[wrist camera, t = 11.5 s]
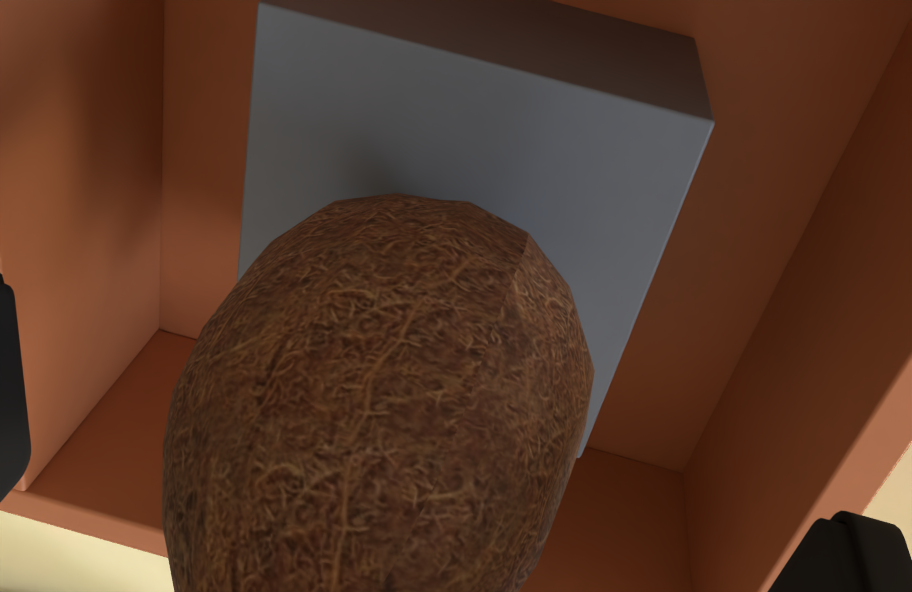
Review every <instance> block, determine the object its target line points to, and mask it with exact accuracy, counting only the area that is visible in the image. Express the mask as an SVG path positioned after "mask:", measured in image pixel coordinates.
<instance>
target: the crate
mask: <svg viewBox="0 0 912 592" xmlns="http://www.w3.org/2000/svg"><path fill="white" fill-rule="evenodd" d="M259 1H260V0H0V273H1V274H2V276H3V279H4V283H5V284H7V285H10V286H11V288H12V289H13V291H14V295H15V302H16V311H17V321H18V330H19V339H20V348H21V357H22V366H23V375H24V385H25V394H26V403H27V412H28V421H29V430H30V439H31V457H30V461H29V464H28V467H27V469H26V471H25V473H24V475H23V476H22V477H21V479H20V480H19V482H18V483H17V484H16V485H15V486H14V487H13V489H12V490H11V491H10V492H9V493H8V494H7V496H6V497H5V498H4V499H3V500H2V501H1V502H0V510H1V511H4V512H8V513H11V514H15V515H18V516H22V517H25V518H29V519H33V520H36V521H40V522H43V523H47V524H50V525H54V526H57V527H61V528H64V529H68V530H71V531H75V532H78V533H82V534H85V535H89V536H93V537H96V538H100V539H103V540H107V541H110V542H114V543H117V544H121V545H124V546H128V547H131V548H135V549H138V550H142V551H146V552H149V553H153V554H156V555H160V556H163V557H167V558H168V554H167V548H166V543H165V538H164V532H163V527H162V468H163V440H164V435H165V430H166V424H167V419H168V413H169V408H170V402H171V397H172V392H173V389H174V387H175V385H176V383H177V381H178V379H179V377H180V375H181V373H182V370H183V368H184V366H185V364H186V362H187V360H188V358H189V356H190V354H191V351H192V349H193V347H194V345H195V343H196V341H197V339H198V337H199V335H200V333H201V330H202V328H203V327H204V326H205V324H206V323H207V322H208V320H209V319H210V318H211V316H212V315H213V314H214V312H215V311H216V310H217V309H218V307H219V306H220V305H221V303H222V302H223V301H224V299H225V298H226V297H227V296H228V294H229V293H230V292H231V290H232V289H233V288H234V286H235V285H236V282H237V269H238V256H239V242H240V229H241V215H242V202H243V189H244V175H245V162H246V149H247V135H248V122H249V108H250V95H251V82H252V68H253V55H254V41H255V28H256V15H257V4H258V2H259ZM550 1H554V2H557V3H561V4H565V5H569V6H573V7H577V8H580V9H584V10H588V11H592V12H596V13H600V14H604V15H607V16H611V17H615V18H619V19H623V20H627V21H630V22H634V23H638V24H642V25H646V26H650V27H654V28H657V29H661V30H665V31H669V32H673V33H677V34H680V35H684V36H688V37H692V38H694V39H695V42H696V46H697V50H698V54H699V59H700V63H701V67H702V71H703V75H704V79H705V83H706V88H707V92H708V96H709V100H710V104H711V108H712V112H713V117H714V121H715V125H714V128H713V130H712V133H711V135H710V138H709V140H708V143H707V145H706V148H705V150H704V153H703V155H702V157H701V160H700V162H699V165H698V167H697V170H696V172H695V175H694V177H693V180H692V182H691V185H690V187H689V190H688V192H687V195H686V197H685V200H684V202H683V205H682V207H681V210H680V212H679V215H678V217H677V220H676V222H675V225H674V227H673V230H672V232H671V234H670V237H669V239H668V242H667V244H666V247H665V249H664V252H663V254H662V257H661V259H660V262H659V264H658V267H657V269H656V272H655V274H654V277H653V279H652V282H651V284H650V287H649V289H648V292H647V294H646V297H645V299H644V302H643V304H642V307H641V309H640V311H639V314H638V316H637V319H636V321H635V324H634V326H633V329H632V331H631V334H630V336H629V339H628V341H627V344H626V346H625V349H624V351H623V354H622V356H621V359H620V361H619V364H618V366H617V369H616V371H615V374H614V376H613V379H612V381H611V384H610V386H609V388H608V391H607V393H606V396H605V398H604V401H603V403H602V406H601V408H600V411H599V413H598V416H597V418H596V421H595V423H594V426H593V428H592V431H591V433H590V436H589V438H588V441H587V443H586V446H585V448H584V451H583V453H582V456H581V457H580V458H576V460H575V463H574V466H573V469H572V472H571V474H570V477H569V480H568V483H567V486H566V488H565V491H564V494H563V497H562V500H561V502H560V505H559V508H558V511H557V513H556V516H555V519H554V521H553V524H552V527H551V529H550V532H549V535H548V537H547V540H546V543H545V545H544V548H543V551H542V553H541V556H540V559H539V561H538V564H537V566H536V567H535V569H534V570H533V571H532V573H531V574H530V576H529V577H528V578H527V580H526V581H525V582H524V584H523V585H522V587H521V588H520V589H519V591H518V592H768V590H769V589H770V587H771V586H772V584H773V583H774V581H775V580H776V578H777V577H778V575H779V574H780V572H781V571H782V569H783V568H784V566H785V565H786V563H787V562H788V560H789V559H790V557H791V556H792V554H793V553H794V551H795V550H796V548H797V547H798V545H799V544H800V542H801V541H802V539H803V538H804V536H805V535H806V533H807V532H808V530H809V529H810V527H811V526H812V524H813V523H814V522H815V521H816V520H817V519H819V518H824V519H828V520H830V519H831V518H832V516H833V515H834V514H835V513H837V512H839V511H841V510H842V511H848V512H852V513H855V514H859V515H862V514H863V512H864V511H865V509H866V508H867V506H868V505H869V504H870V502H871V501H872V499H873V498H874V496H875V495H876V494H877V492H878V491H879V489H880V488H881V486H882V485H883V483H884V482H885V481H886V479H887V478H888V476H889V475H890V473H891V472H892V471H893V469H894V468H895V466H896V465H897V463H898V462H899V461H900V459H901V458H902V456H903V455H904V453H905V452H906V450H907V449H908V448H909V446H910V445H911V443H912V0H550Z"/></svg>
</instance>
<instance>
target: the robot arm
mask: <svg viewBox="0 0 912 592" xmlns="http://www.w3.org/2000/svg"><path fill="white" fill-rule="evenodd" d="M30 457H31V439H30V430H29V421H28V412H27V403H26V394H25V385H24V375H23V366H22V357H21V348H20V339H19V330H18V321H17V311H16V302H15V295H14V291H13V289H12V288H11V286H10V285H7V284H5V283H4V279H3V276H2V274H1V273H0V502H1V501H2V500H3V499H4V498H5V497H6V496H7V494H8V493H9V492H10V491H11V490H12V489H13V487H14V486H15V485H16V484H17V483H18V482H19V480H20V479H21V477H22V476H23V475H24V473H25V471H26V469H27V467H28V464H29V461H30ZM768 592H912V560H911V557H910V554H909V551H908V548H907V544H906V541H905V538H904V536H903V534H902V532H901V530H900V529H899V528H898V527H897V526H896V525H894V524H890V523H887V522H883V521H880V520H876V519H873V518H869V517H866V516H862V515H859V514H855V513H852V512H848V511H842V510H841V511H839V512H837V513H835V514H834V515H833V516H832V518H831V519H830V520H828V519H824V518H819V519H817V520H816V521H815V522H814V523H813V524H812V526H811V527H810V529H809V530H808V532H807V533H806V535H805V536H804V538H803V539H802V541H801V542H800V544H799V545H798V547H797V548H796V550H795V551H794V553H793V554H792V556H791V557H790V559H789V560H788V562H787V563H786V565H785V566H784V568H783V569H782V571H781V572H780V574H779V575H778V577H777V578H776V580H775V581H774V583H773V584H772V586H771V587H770V589H769V590H768Z"/></svg>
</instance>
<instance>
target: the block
mask: <svg viewBox="0 0 912 592" xmlns="http://www.w3.org/2000/svg"><path fill="white" fill-rule="evenodd" d="M714 125H715V121H714V117H713V112H712V108H711V104H710V100H709V96H708V92H707V88H706V83H705V79H704V75H703V71H702V67H701V63H700V59H699V54H698V50H697V46H696V42H695V39H694V38H692V37H688V36H684V35H680V34H677V33H673V32H669V31H665V30H661V29H657V28H654V27H650V26H646V25H642V24H638V23H634V22H630V21H627V20H623V19H619V18H615V17H611V16H607V15H604V14H600V13H596V12H592V11H588V10H584V9H580V8H577V7H573V6H569V5H565V4H561V3H557V2H554V1H550V0H260V1H259V2H258V4H257V15H256V28H255V41H254V55H253V68H252V82H251V95H250V108H249V122H248V135H247V149H246V162H245V175H244V189H243V202H242V215H241V229H240V242H239V256H238V269H237V282H236V284H237V283H238V281H239V280H240V279H241V277H242V276H243V275H244V273H245V272H246V271H247V269H248V268H249V267H250V266H251V264H252V263H253V262H254V261H255V260H256V258H257V257H258V256H259V255H260V254H261V253H262V252H263V250H264V249H265V248H266V247H267V246H268V245H269V244H270V242H271V241H273V240H274V239H276V238H277V237H279V236H280V235H282V234H283V233H285V232H286V231H288V230H289V229H291V228H292V227H294V226H295V225H297V224H298V223H300V222H301V221H303V220H305V219H306V218H308V217H309V216H311V215H312V214H314V213H315V212H317V211H318V210H320V209H322V208H323V207H325V206H327V205H328V204H330V203H332V202H334V201H336V200H344V199H352V198H360V197H368V196H376V195H384V194H392V193H402V194H408V195H414V196H420V197H426V198H433V199H439V200H454V201H469V202H471V203H473V204H475V205H477V206H479V207H480V208H482V209H484V210H486V211H488V212H490V213H492V214H494V215H496V216H498V217H500V218H501V219H503V220H505V221H507V222H509V223H511V224H513V225H515V226H517V227H519V228H520V229H522V230H524V231H526V232H528V233H529V234H530V235H531V237H532V238H533V239H534V241H535V242H536V243H537V244H538V246H539V247H540V248H541V250H542V251H543V252H544V254H545V255H546V256H547V258H548V259H549V260H550V262H551V263H552V264H553V265H554V267H555V268H556V269H557V271H558V272H559V273H560V275H561V276H562V277H563V279H564V280H565V281H566V283H567V284H568V285H569V286H570V289H571V292H572V296H573V299H574V302H575V305H576V309H577V312H578V315H579V319H580V322H581V325H582V329H583V332H584V335H585V339H586V342H587V345H588V349H589V352H590V355H591V359H592V362H593V366H594V369H595V374H594V380H593V386H592V392H591V398H590V404H589V410H588V416H587V422H586V427H585V431H584V434H583V437H582V440H581V444H580V447H579V450H578V453H577V457H576V458H580V457H581V456H582V453H583V451H584V448H585V446H586V443H587V441H588V438H589V436H590V433H591V431H592V428H593V426H594V423H595V421H596V418H597V416H598V413H599V411H600V408H601V406H602V403H603V401H604V398H605V396H606V393H607V391H608V388H609V386H610V384H611V381H612V379H613V376H614V374H615V371H616V369H617V366H618V364H619V361H620V359H621V356H622V354H623V351H624V349H625V346H626V344H627V341H628V339H629V336H630V334H631V331H632V329H633V326H634V324H635V321H636V319H637V316H638V314H639V311H640V309H641V307H642V304H643V302H644V299H645V297H646V294H647V292H648V289H649V287H650V284H651V282H652V279H653V277H654V274H655V272H656V269H657V267H658V264H659V262H660V259H661V257H662V254H663V252H664V249H665V247H666V244H667V242H668V239H669V237H670V234H671V232H672V230H673V227H674V225H675V222H676V220H677V217H678V215H679V212H680V210H681V207H682V205H683V202H684V200H685V197H686V195H687V192H688V190H689V187H690V185H691V182H692V180H693V177H694V175H695V172H696V170H697V167H698V165H699V162H700V160H701V157H702V155H703V153H704V150H705V148H706V145H707V143H708V140H709V138H710V135H711V133H712V130H713V128H714Z"/></svg>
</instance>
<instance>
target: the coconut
mask: <svg viewBox="0 0 912 592" xmlns="http://www.w3.org/2000/svg"><path fill="white" fill-rule="evenodd" d="M594 374H595V369H594V366H593V362H592V359H591V355H590V352H589V349H588V345H587V342H586V339H585V335H584V332H583V329H582V325H581V322H580V319H579V315H578V312H577V309H576V305H575V302H574V299H573V296H572V292H571V289H570V286H569V285H568V284H567V283H566V281H565V280H564V279H563V277H562V276H561V275H560V273H559V272H558V271H557V269H556V268H555V267H554V265H553V264H552V263H551V262H550V260H549V259H548V258H547V256H546V255H545V254H544V252H543V251H542V250H541V248H540V247H539V246H538V244H537V243H536V242H535V241H534V239H533V238H532V237H531V235H530V234H529V233H528V232H526V231H524V230H522V229H520V228H519V227H517V226H515V225H513V224H511V223H509V222H507V221H505V220H503V219H501V218H500V217H498V216H496V215H494V214H492V213H490V212H488V211H486V210H484V209H482V208H480V207H479V206H477V205H475V204H473V203H471V202H469V201H454V200H439V199H433V198H426V197H420V196H414V195H408V194H402V193H392V194H384V195H376V196H368V197H360V198H352V199H344V200H336V201H334V202H332V203H330V204H328V205H327V206H325V207H323V208H322V209H320V210H318V211H317V212H315V213H314V214H312V215H311V216H309V217H308V218H306V219H305V220H303V221H301V222H300V223H298V224H297V225H295V226H294V227H292V228H291V229H289V230H288V231H286V232H285V233H283V234H282V235H280V236H279V237H277V238H276V239H274V240H273V241H271V242H270V244H269V245H268V246H267V247H266V248H265V249H264V250H263V252H262V253H261V254H260V255H259V256H258V257H257V258H256V260H255V261H254V262H253V263H252V264H251V266H250V267H249V268H248V269H247V271H246V272H245V273H244V275H243V276H242V277H241V279H240V280H239V281H238V283H237V284H236V285H235V286H234V288H233V289H232V290H231V292H230V293H229V294H228V296H227V297H226V298H225V299H224V301H223V302H222V303H221V305H220V306H219V307H218V309H217V310H216V311H215V312H214V314H213V315H212V316H211V318H210V319H209V320H208V322H207V323H206V324H205V326H204V327H203V328H202V330H201V333H200V335H199V337H198V339H197V341H196V343H195V345H194V347H193V349H192V351H191V354H190V356H189V358H188V360H187V362H186V364H185V366H184V368H183V370H182V373H181V375H180V377H179V379H178V381H177V383H176V385H175V387H174V389H173V392H172V397H171V402H170V408H169V413H168V419H167V424H166V430H165V435H164V440H163V468H162V527H163V532H164V538H165V543H166V548H167V554H168V559H169V564H170V570H171V575H172V581H173V586H174V591H175V592H518V591H519V589H520V588H521V587H522V585H523V584H524V582H525V581H526V580H527V578H528V577H529V576H530V574H531V573H532V571H533V570H534V569H535V567H536V566H537V564H538V561H539V559H540V556H541V553H542V551H543V548H544V545H545V543H546V540H547V537H548V535H549V532H550V529H551V527H552V524H553V521H554V519H555V516H556V513H557V511H558V508H559V505H560V502H561V500H562V497H563V494H564V491H565V488H566V486H567V483H568V480H569V477H570V474H571V472H572V469H573V466H574V463H575V460H576V457H577V453H578V450H579V447H580V444H581V440H582V437H583V434H584V431H585V427H586V422H587V416H588V410H589V404H590V398H591V392H592V386H593V380H594Z"/></svg>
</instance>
